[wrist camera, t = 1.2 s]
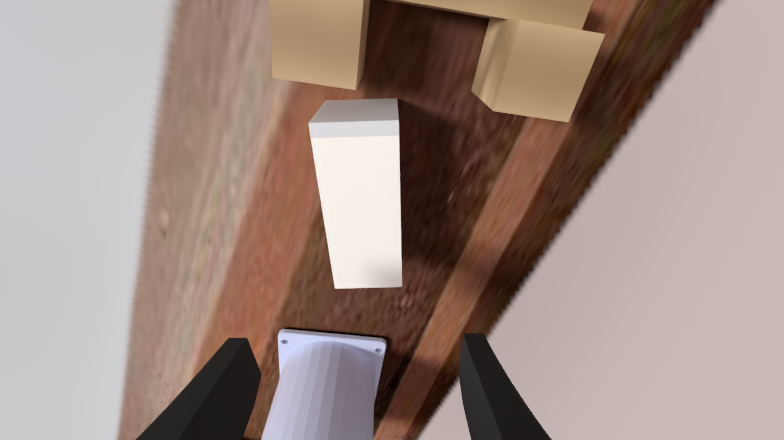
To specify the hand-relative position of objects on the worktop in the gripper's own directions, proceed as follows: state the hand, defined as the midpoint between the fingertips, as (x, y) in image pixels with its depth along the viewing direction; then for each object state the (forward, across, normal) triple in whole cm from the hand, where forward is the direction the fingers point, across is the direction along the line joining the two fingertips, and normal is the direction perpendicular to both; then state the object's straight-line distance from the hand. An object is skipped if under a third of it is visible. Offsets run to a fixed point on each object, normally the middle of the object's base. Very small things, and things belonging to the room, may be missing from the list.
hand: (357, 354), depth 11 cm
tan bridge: (+10, -3, -8) cm, 13 cm away
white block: (+10, 0, -2) cm, 10 cm away
